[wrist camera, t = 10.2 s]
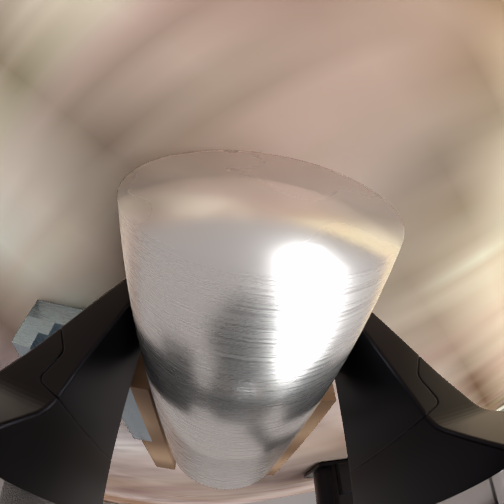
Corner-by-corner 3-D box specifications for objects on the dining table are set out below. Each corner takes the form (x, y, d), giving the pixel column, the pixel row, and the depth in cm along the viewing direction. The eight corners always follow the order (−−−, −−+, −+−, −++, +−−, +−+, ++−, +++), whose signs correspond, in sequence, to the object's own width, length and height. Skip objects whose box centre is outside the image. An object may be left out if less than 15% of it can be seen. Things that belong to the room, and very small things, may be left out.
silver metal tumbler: (272, 396, 15) (285, 485, 11) (173, 394, 15) (168, 486, 10) (344, 164, 8) (460, 277, 4) (154, 145, 8) (61, 257, 3)
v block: (159, 401, 17) (152, 441, 14) (78, 384, 16) (66, 419, 14) (142, 319, 12) (125, 373, 10) (37, 299, 12) (11, 341, 9)
